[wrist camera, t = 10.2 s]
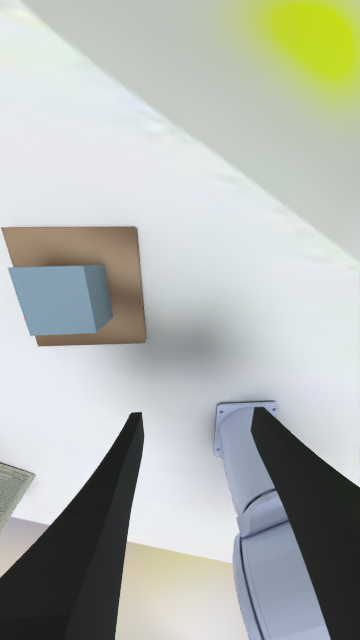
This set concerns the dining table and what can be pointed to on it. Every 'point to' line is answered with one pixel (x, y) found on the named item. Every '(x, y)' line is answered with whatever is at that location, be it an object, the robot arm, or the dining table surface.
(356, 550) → the robot arm
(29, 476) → the skincare box
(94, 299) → the slate blue cube
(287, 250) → the dining table surface
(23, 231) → the board
